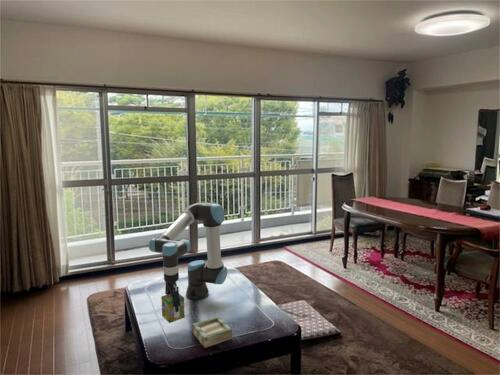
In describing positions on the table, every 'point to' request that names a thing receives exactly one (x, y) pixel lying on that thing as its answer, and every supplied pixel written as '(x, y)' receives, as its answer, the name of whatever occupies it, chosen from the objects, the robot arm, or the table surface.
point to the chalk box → (168, 308)
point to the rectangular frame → (212, 331)
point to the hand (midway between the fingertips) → (173, 312)
